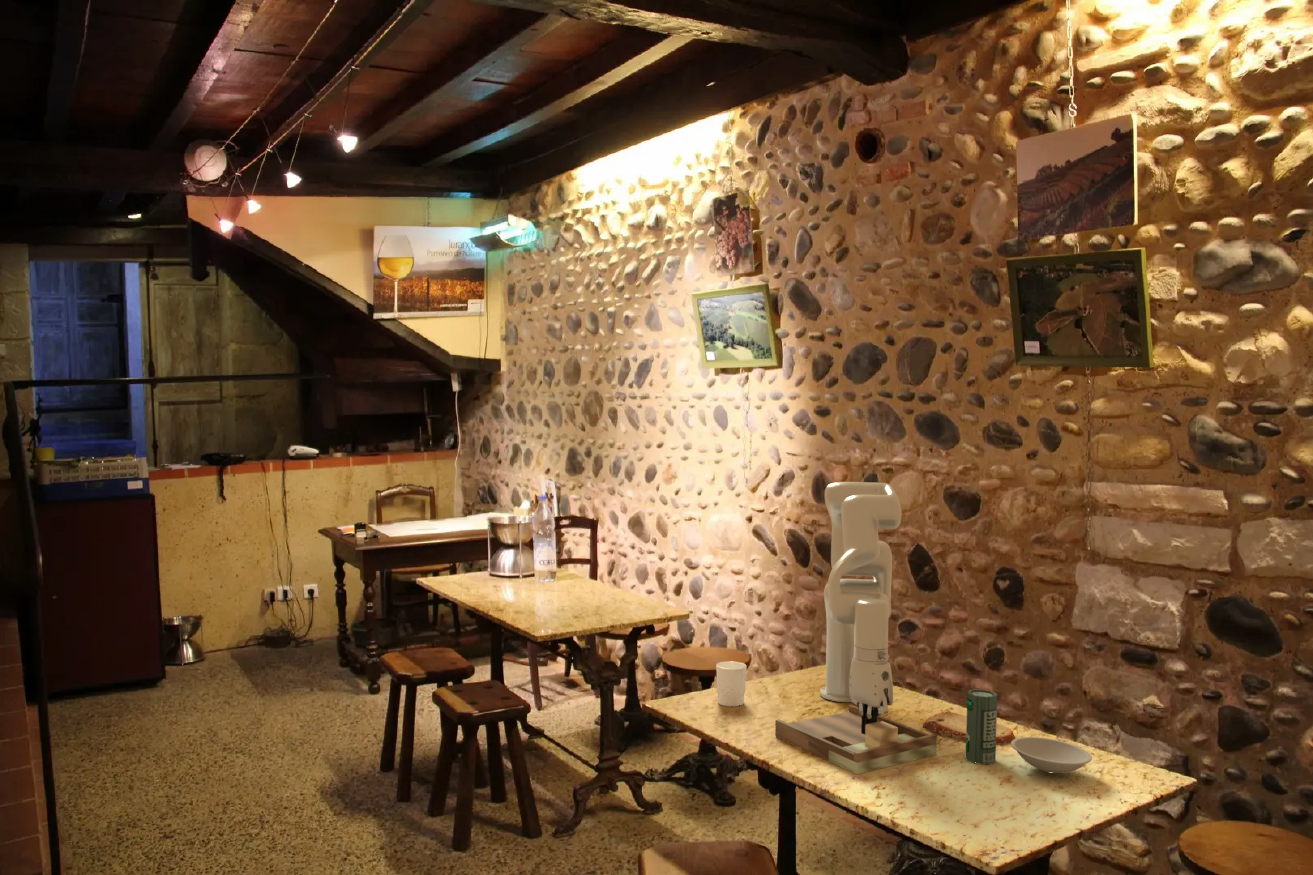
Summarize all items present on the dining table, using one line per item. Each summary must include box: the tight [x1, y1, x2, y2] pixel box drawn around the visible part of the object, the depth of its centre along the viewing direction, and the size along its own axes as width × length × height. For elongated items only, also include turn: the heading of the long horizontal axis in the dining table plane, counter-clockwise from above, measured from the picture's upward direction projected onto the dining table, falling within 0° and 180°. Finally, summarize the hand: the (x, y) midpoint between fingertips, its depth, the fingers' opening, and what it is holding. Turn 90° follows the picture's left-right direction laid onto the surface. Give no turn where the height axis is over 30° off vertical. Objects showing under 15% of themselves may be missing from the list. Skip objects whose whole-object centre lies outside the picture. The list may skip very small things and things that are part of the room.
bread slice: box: [922, 710, 1017, 745], centre depth 253 cm, size 18×18×4 cm
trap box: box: [774, 704, 938, 775], centre depth 242 cm, size 24×28×4 cm
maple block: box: [865, 721, 898, 748], centre depth 233 cm, size 5×5×5 cm
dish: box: [1010, 736, 1093, 774], centre depth 227 cm, size 18×14×5 cm
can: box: [965, 688, 998, 765], centre depth 234 cm, size 6×6×15 cm
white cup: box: [715, 660, 747, 707], centre depth 274 cm, size 8×8×10 cm
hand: (868, 733), depth 238 cm, fingers closed
